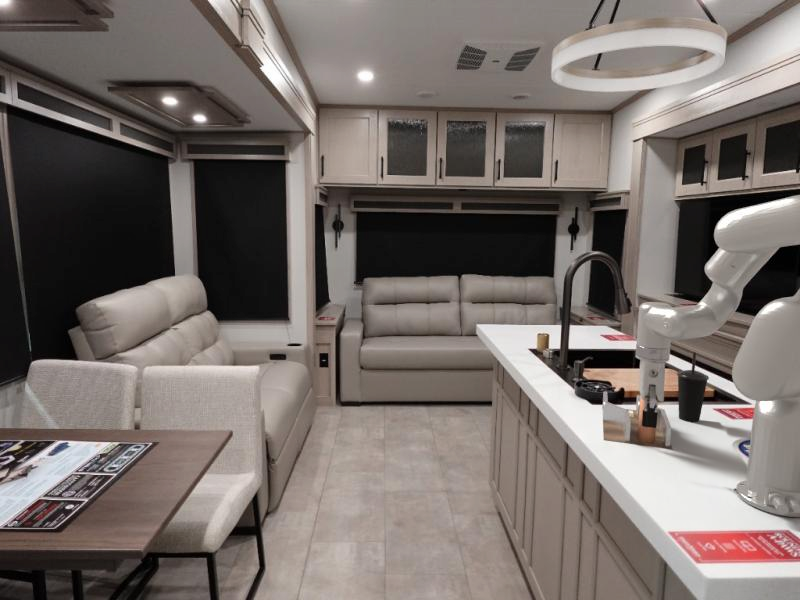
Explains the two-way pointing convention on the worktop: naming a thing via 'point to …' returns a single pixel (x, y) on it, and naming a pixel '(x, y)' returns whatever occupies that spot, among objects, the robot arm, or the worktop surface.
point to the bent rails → (623, 419)
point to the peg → (645, 432)
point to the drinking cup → (691, 393)
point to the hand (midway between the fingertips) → (647, 420)
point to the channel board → (617, 433)
